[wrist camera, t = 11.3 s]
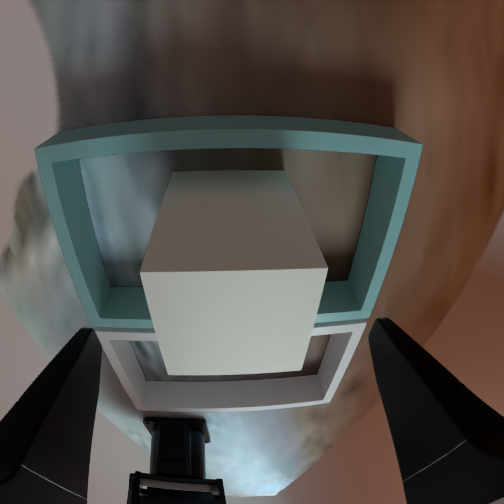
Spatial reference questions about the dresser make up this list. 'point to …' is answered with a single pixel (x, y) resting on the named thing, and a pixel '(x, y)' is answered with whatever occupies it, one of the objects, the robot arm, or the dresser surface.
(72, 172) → the teal bin
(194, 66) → the dresser surface
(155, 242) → the cream block
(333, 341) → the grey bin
